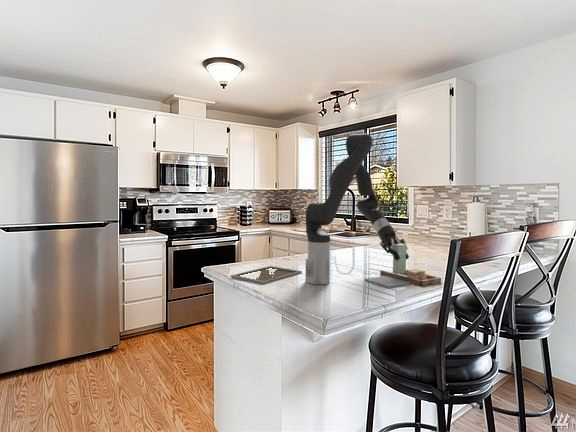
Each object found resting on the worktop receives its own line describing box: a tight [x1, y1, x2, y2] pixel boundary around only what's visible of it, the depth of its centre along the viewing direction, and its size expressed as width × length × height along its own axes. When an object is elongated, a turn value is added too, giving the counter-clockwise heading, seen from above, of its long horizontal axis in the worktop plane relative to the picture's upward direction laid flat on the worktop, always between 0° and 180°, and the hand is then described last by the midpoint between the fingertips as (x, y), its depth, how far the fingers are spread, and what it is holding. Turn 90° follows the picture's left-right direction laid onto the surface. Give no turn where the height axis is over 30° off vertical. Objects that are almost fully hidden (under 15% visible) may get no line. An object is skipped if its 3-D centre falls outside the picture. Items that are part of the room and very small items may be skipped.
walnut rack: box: [379, 269, 442, 287], centre depth 156 cm, size 12×23×2 cm, turn 30°
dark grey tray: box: [230, 265, 303, 286], centre depth 161 cm, size 19×2×30 cm
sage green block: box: [392, 244, 408, 275], centre depth 160 cm, size 5×3×13 cm, turn 120°
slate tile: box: [364, 275, 411, 289], centre depth 149 cm, size 12×14×1 cm
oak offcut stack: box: [406, 268, 427, 280], centre depth 152 cm, size 7×5×4 cm
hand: (402, 258), depth 159 cm, fingers closed on sage green block, 5 cm apart
